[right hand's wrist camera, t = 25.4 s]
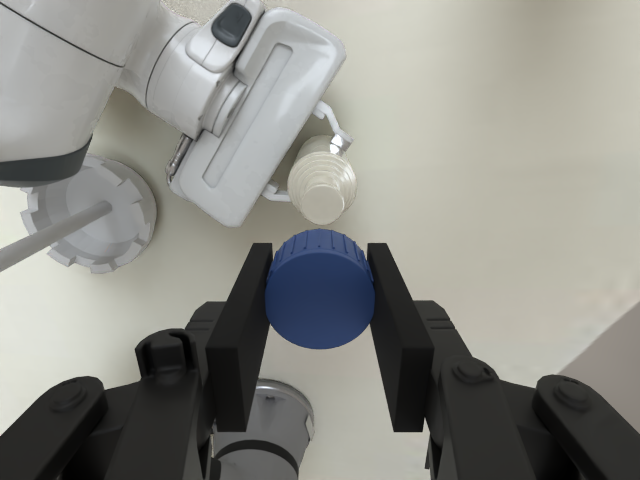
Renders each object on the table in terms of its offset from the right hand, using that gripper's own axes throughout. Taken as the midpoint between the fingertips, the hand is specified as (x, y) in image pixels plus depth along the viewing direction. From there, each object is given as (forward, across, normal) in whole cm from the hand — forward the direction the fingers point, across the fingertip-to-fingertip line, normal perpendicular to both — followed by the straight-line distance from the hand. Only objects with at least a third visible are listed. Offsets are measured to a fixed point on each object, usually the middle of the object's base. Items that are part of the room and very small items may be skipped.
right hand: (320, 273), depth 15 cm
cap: (-2, 0, 0) cm, 2 cm away
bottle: (+28, 0, 0) cm, 28 cm away
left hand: (+22, -1, 0) cm, 22 cm away
